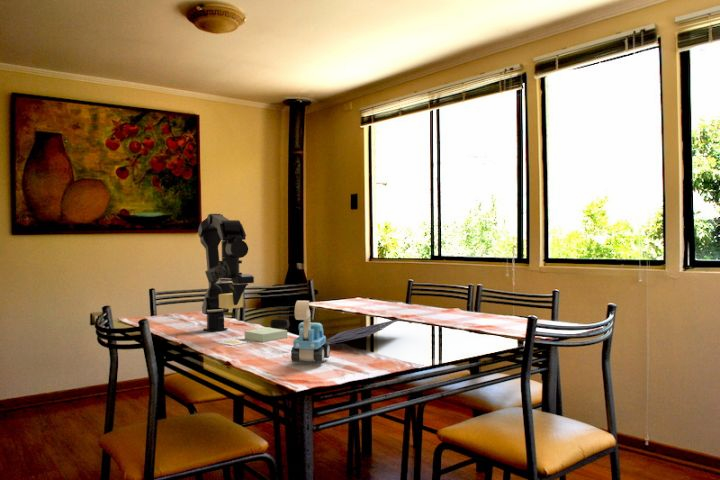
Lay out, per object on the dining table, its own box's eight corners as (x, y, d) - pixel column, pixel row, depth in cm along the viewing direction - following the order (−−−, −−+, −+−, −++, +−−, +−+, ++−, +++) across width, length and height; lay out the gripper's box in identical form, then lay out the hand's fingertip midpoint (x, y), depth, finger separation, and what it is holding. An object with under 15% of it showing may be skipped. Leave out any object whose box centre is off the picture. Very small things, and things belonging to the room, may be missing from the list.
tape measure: (287, 328, 195) (287, 317, 196) (268, 330, 195) (268, 319, 196) (290, 329, 201) (289, 319, 202) (272, 330, 202) (271, 320, 202)
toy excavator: (282, 369, 138) (281, 301, 138) (301, 355, 154) (300, 294, 154) (315, 370, 136) (314, 301, 136) (330, 356, 152) (330, 295, 152)
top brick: (219, 307, 181) (218, 294, 181) (234, 306, 185) (234, 292, 186) (227, 308, 178) (227, 295, 178) (242, 307, 182) (242, 293, 182)
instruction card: (217, 342, 175) (217, 341, 175) (233, 340, 180) (233, 339, 180) (231, 345, 170) (231, 344, 170) (247, 342, 174) (247, 341, 174)
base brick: (244, 340, 182) (244, 331, 182) (268, 336, 189) (268, 327, 189) (263, 343, 175) (263, 334, 175) (287, 339, 183) (287, 330, 183)
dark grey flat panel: (303, 359, 167) (301, 347, 167) (341, 339, 195) (339, 329, 195) (375, 343, 159) (372, 331, 159) (404, 326, 187) (402, 315, 187)
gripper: (194, 258, 182) (194, 304, 182) (225, 258, 169) (225, 308, 169) (222, 257, 190) (223, 301, 190) (254, 257, 178) (255, 305, 177)
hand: (231, 304), depth 182 cm, fingers closed on top brick, 5 cm apart
